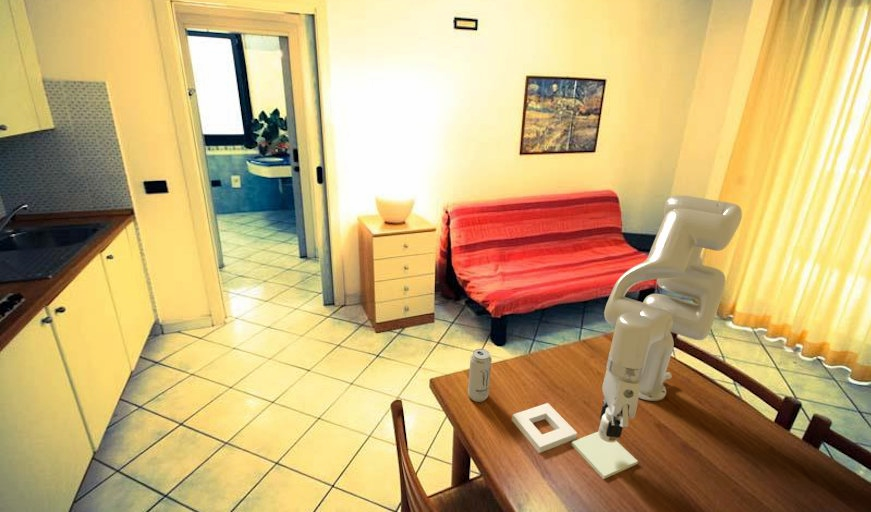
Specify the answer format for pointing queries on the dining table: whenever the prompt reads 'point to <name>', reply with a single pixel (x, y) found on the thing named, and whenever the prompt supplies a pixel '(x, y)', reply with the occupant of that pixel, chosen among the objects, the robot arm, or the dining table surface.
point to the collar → (547, 440)
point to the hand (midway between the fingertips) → (609, 427)
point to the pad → (604, 455)
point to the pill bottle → (604, 424)
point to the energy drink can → (479, 375)
